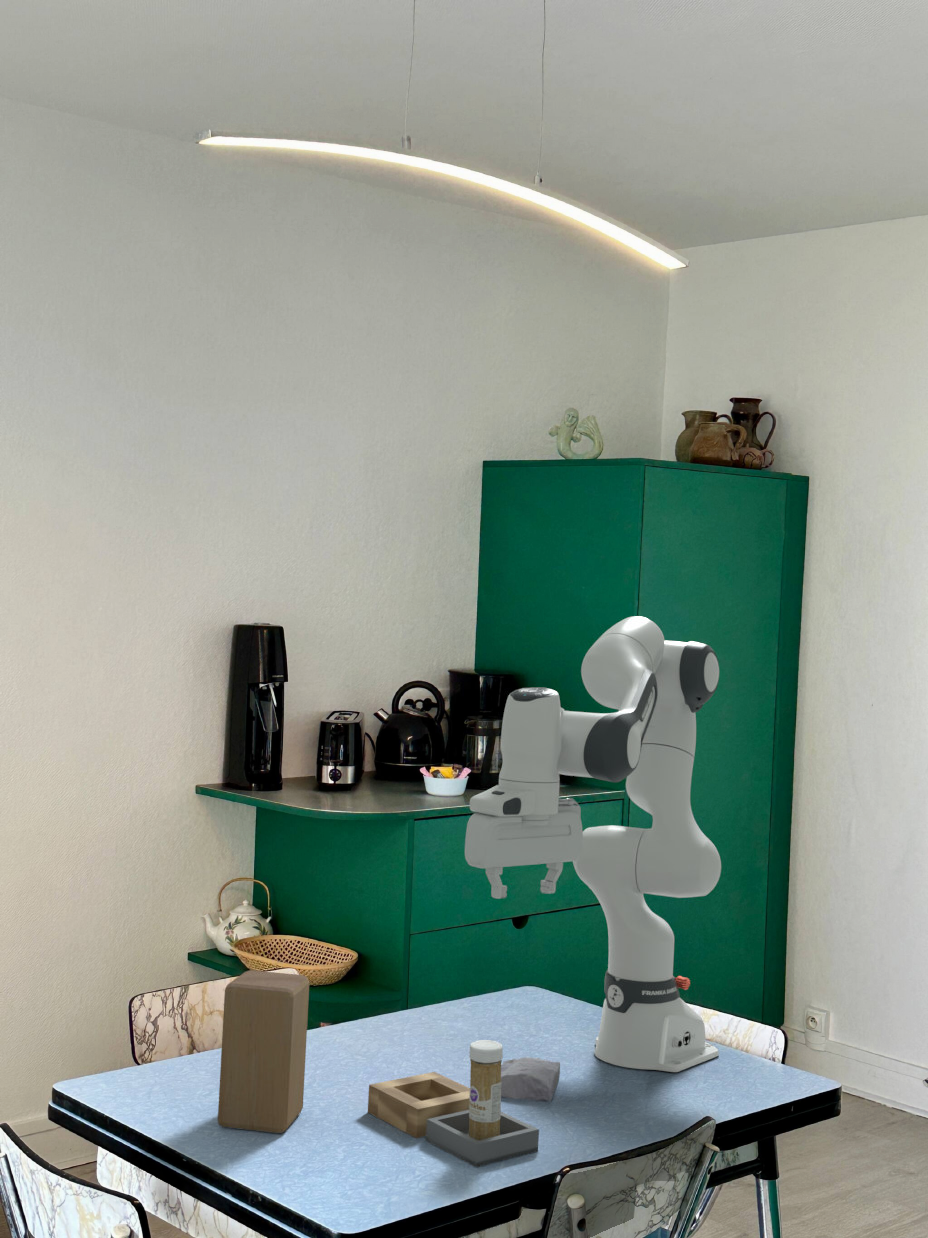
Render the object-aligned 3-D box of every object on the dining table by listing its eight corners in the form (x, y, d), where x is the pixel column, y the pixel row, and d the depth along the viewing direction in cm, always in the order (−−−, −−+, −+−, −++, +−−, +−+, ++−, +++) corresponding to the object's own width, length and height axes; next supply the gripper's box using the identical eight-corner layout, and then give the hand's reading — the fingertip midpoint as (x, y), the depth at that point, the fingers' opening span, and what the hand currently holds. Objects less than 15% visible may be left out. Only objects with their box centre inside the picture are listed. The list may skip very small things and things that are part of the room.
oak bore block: (432, 1098, 204) (434, 1072, 204) (483, 1122, 195) (484, 1095, 195) (367, 1112, 197) (369, 1084, 197) (416, 1138, 187) (418, 1109, 188)
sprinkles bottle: (461, 1142, 185) (462, 1044, 185) (481, 1133, 189) (483, 1037, 189) (487, 1151, 182) (489, 1051, 182) (507, 1141, 186) (509, 1043, 186)
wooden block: (238, 1105, 197) (245, 968, 198) (304, 1112, 196) (311, 974, 196) (214, 1129, 187) (222, 984, 188) (284, 1136, 186) (292, 991, 186)
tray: (486, 1126, 193) (488, 1105, 194) (538, 1151, 185) (539, 1129, 185) (425, 1141, 187) (426, 1119, 187) (475, 1167, 178) (477, 1144, 178)
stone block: (492, 1110, 207) (556, 1103, 205) (488, 1078, 207) (552, 1071, 205) (503, 1088, 218) (564, 1082, 217) (498, 1058, 219) (559, 1051, 217)
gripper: (565, 795, 204) (561, 886, 204) (460, 799, 192) (455, 896, 191) (595, 800, 200) (590, 893, 199) (488, 804, 187) (483, 904, 186)
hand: (523, 895), depth 195 cm, fingers open, 8 cm apart
